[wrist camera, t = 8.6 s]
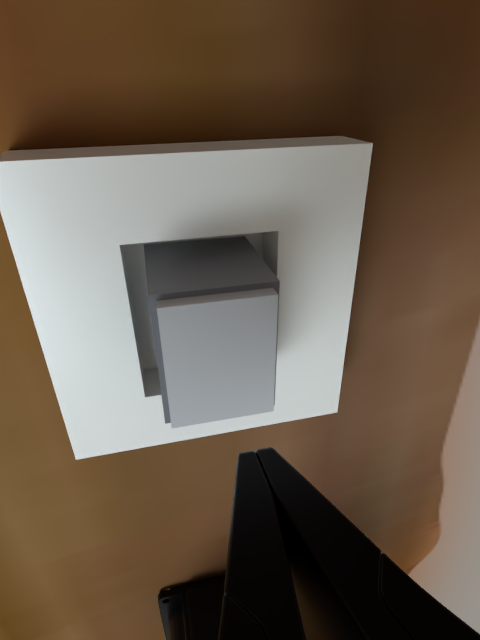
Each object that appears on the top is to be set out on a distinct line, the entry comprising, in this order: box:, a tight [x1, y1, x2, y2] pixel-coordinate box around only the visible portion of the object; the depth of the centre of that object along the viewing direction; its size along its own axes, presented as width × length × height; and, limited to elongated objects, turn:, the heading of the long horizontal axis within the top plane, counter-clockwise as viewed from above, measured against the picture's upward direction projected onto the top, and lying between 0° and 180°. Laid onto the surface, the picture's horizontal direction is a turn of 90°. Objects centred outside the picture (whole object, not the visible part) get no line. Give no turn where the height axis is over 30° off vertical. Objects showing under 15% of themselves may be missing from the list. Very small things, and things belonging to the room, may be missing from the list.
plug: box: [144, 236, 280, 428], centre depth 15 cm, size 5×4×5 cm
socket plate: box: [0, 136, 373, 460], centre depth 17 cm, size 12×12×2 cm
